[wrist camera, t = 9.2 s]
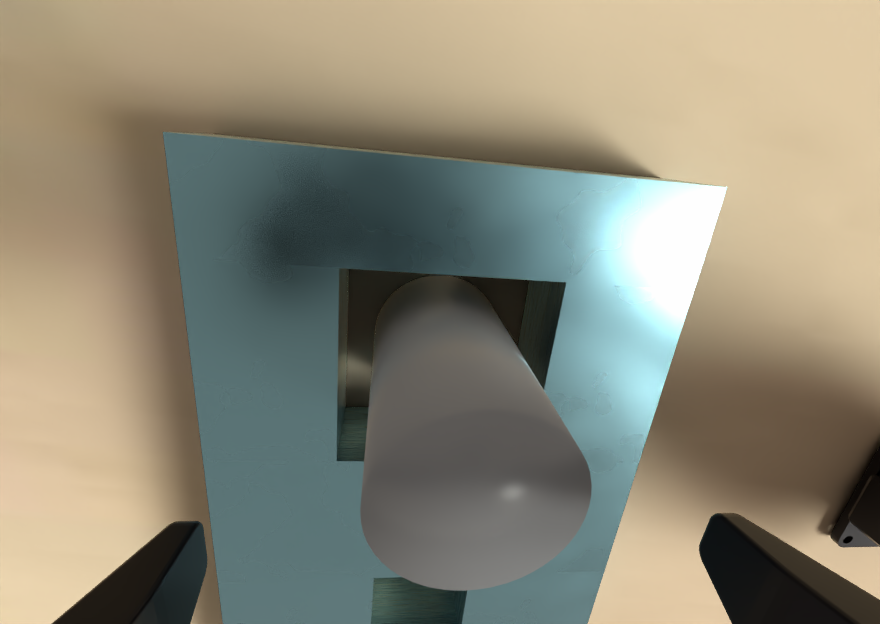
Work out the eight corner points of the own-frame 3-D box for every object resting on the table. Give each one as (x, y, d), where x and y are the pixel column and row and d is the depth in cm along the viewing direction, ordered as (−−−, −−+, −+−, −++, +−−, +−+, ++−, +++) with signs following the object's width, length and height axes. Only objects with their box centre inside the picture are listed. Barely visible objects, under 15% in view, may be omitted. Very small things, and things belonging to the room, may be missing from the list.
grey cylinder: (505, 278, 15) (616, 411, 8) (488, 388, 17) (566, 586, 9) (377, 271, 15) (364, 406, 7) (372, 385, 16) (356, 594, 9)
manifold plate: (662, 178, 14) (727, 187, 12) (542, 626, 22) (564, 695, 19) (213, 133, 12) (162, 131, 10) (255, 639, 20) (234, 718, 18)
